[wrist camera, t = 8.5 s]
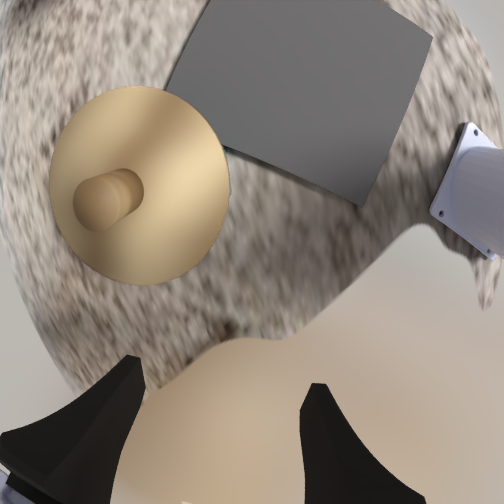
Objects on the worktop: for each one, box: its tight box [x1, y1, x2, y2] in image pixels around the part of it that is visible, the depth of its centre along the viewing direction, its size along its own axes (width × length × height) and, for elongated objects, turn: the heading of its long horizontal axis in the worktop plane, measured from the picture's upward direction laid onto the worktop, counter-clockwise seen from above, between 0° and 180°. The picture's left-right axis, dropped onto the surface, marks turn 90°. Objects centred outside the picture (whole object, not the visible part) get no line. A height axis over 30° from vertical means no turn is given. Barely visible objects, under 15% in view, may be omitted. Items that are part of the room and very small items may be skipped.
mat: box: [166, 0, 433, 207], centre depth 14 cm, size 14×14×1 cm
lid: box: [49, 86, 230, 285], centre depth 12 cm, size 11×11×4 cm
